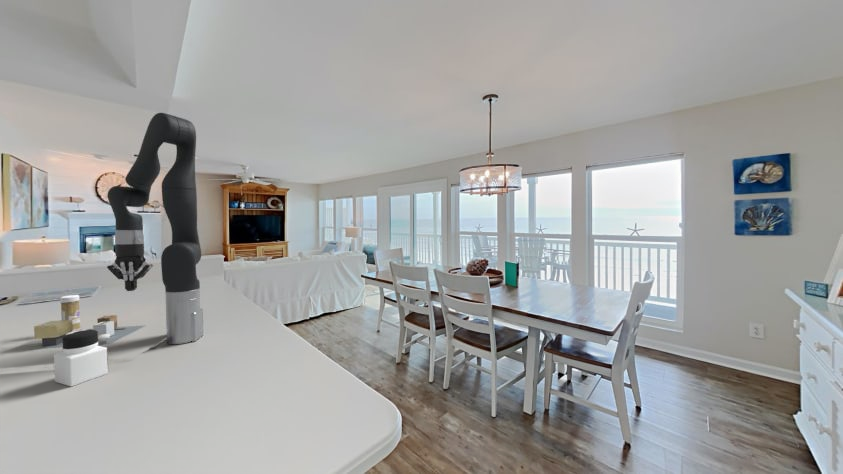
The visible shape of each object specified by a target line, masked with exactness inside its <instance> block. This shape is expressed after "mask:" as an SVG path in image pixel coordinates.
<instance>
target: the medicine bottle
mask: <svg viewBox="0 0 843 474" xmlns="http://www.w3.org/2000/svg"><path fill="white" fill-rule="evenodd" d="M87 329H88V330H82V329H79V330H80V331H78V330H76V331H72V332H70V333H67V334H66V335H65V336H64V337H63V338H62V341H63V347H62V352H61V351H60V352H58V353H55V354H54V355H53V365H54V381H55V383H58V384H62V385H64V386H68V387H74V386H76V385H81V384H83V383H85V382H89V381H91V380H94V379H97V378H99V377H102V376H105V375H108V374H109V361H108V359H109V358H108V356H109V355H108V347H106V346H100V345H98V331H96V330H91V329H92V328H87Z"/></svg>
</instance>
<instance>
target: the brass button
mask: <svg viewBox="0 0 843 474" xmlns="http://www.w3.org/2000/svg"><path fill="white" fill-rule="evenodd" d="M72 332H74V330H73V328H72V320H62V319H61V320H50V321H47V322H44V323H41V324H37V325H35V326H33V333H34V339H35V340H37V339H38V340H39V339H42V338H54V337H59V336H62V335H64V334H66V335H67V334H69V333H72Z"/></svg>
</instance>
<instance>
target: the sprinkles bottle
mask: <svg viewBox="0 0 843 474" xmlns="http://www.w3.org/2000/svg"><path fill="white" fill-rule="evenodd" d="M59 299H60V300H59V301H60V306H61V309H60V310H61V311H60V314H61V316H60V317H61V320H72V328H73V331H74V330H78V329H80V328H81V317H80V316H81V315H80V314H81V312H80V295H79V294H72V295H69V294H68V295H63V296H61V297H60V298H59Z"/></svg>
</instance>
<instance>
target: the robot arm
mask: <svg viewBox="0 0 843 474" xmlns="http://www.w3.org/2000/svg"><path fill="white" fill-rule="evenodd" d="M196 131H197V130H196V127H195V125H194V124H193V122H192V121H190V120H188V119H186V118H182V117H179V116H176V115H172V114H170V113H169V114H168V113H166V112H157V113H155V114H154V115H153V116H152V118H151V119H150V121H149V123H148V126H147V128H146V131H145V134H144V136H143V139H142V143H141V145H140V149H139V152H138V154H137V157H136V160H135V161H134V163H133V164H132V167H130V169H129V171H128V173H127V175H126V176H125V178H124V179H125V183H126V184H127V185H128V186H124V185H121V186H120V185H114V186H112V187H111V188H109V190H108V191H107V200H108V202H109V205H110V207H111V210H112V213H113V215H114V218H115V233H114V234H115V235H114V249H115V250H114V252H115V253H114V254H115V255H114V256H115V260H114V263H112V264H110V265H107V266H106V267H107V269H108V270H109V271H110V273H111V274H113V275H114V277H116V278H117V280H123V281H124V289H125V290H126V292H133V291H135V290H136V289H137V288H138V279H142V278H143V277H144V276H145V275H147V273H148V272H149V271H150V270H151V269H152V268H153V267H154V266H153V264H152V263H148V262H146V258H145V257H144V256H145V235H144V230H143V229H144V226H143V224H144V223H143V216H142V215H140V214H138V213H134V212H130V210H129V209H128V207H129V208H141V207H144V206H146V205H147V204H148V203H149V200H150V195H151V190H152V186H153V185H154V183H155V182H156V179H157V178H158V177H159V175H160V173H161V161H160V160H159V159H160V158H159V155H158V151H159V149H160V147H161V146H162V145H163V144H164V143H165V144H170V145H174V146H175V147H176V155H175V156H176V157H175V161H174V163H173V165H172V166H171V168H170V169H169V170H168V172H167V173H166V174H165V176H164V177H163V180H162V182H161V198H162V199H161V200H162V205H163V208H164V209H163V210H164V211H165V214H166V216H167V219H168V222H169V224H170V228H171V244H169V245H167V247H165V248H164V249H163V251H162V253H161V256H160V258H161V259H160V260H161V261H160V265H161V278H162V283H163V285H164V289H165V318H166V321H165V322H166V325H165V326H166V343H167V344H168V345H181V344H186V343H191V341H192V342H197V341H198V340H199V339H200V338H202V337H203V336H204V335H203V334H204V309H203V308H201V290H200V289H201V286H200V284H201V283H200V279H198V276H197V266H196V265H198V263H200V261H201V259H202V248H201V243H200V238H199V237H200V236H199V233H198V202H197V201H198V199H197V198H198V197H197V195H198V194H197V184H196V163H195V162H196V151H197V148H196V147H197V133H196ZM202 335H203V336H202ZM201 336H202V337H201ZM199 337H200V338H199ZM198 338H199V339H198ZM197 339H198V340H197Z"/></svg>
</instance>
